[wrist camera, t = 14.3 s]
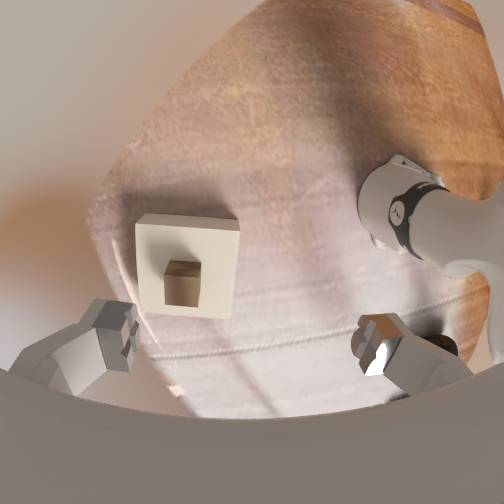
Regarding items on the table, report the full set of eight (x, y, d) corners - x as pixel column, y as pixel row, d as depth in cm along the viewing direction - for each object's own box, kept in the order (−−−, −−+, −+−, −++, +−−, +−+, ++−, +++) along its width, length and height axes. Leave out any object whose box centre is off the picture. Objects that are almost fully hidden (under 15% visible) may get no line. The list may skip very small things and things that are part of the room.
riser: (238, 219, 46) (240, 231, 41) (229, 300, 52) (230, 319, 47) (145, 213, 44) (135, 223, 39) (148, 293, 50) (140, 311, 45)
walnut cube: (201, 262, 42) (199, 278, 37) (200, 290, 44) (198, 307, 39) (169, 259, 41) (163, 274, 37) (170, 287, 43) (164, 304, 39)
